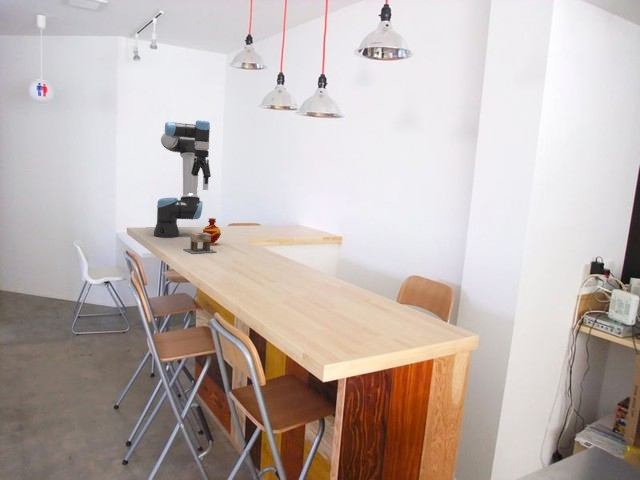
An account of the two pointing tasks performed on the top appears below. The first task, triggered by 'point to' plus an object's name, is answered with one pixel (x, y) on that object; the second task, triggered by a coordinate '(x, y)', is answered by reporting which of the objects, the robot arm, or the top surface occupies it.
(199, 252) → the mat
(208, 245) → the footstool
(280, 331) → the top surface
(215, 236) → the potion bottle
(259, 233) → the top surface
